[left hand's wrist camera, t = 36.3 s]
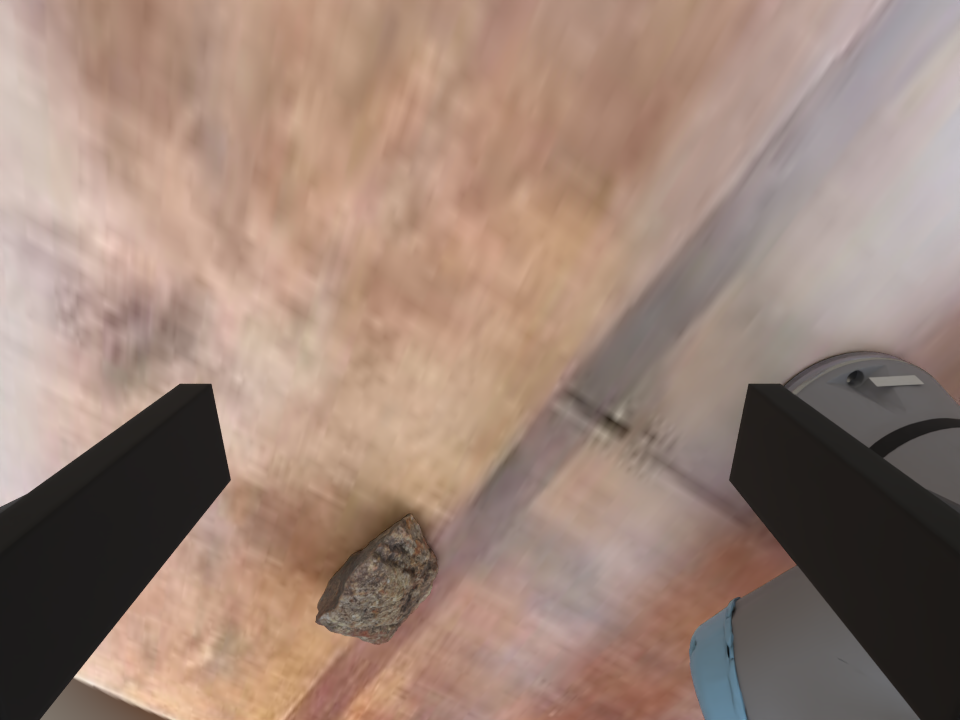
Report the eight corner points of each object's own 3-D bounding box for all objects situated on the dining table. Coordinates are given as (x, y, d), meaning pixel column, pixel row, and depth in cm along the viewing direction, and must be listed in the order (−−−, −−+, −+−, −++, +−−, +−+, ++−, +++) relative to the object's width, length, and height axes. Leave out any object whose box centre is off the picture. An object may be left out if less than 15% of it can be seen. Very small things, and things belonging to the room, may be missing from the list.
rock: (304, 568, 52) (379, 621, 54) (267, 646, 44) (356, 703, 46) (397, 489, 47) (474, 551, 49) (374, 561, 39) (467, 629, 42)
